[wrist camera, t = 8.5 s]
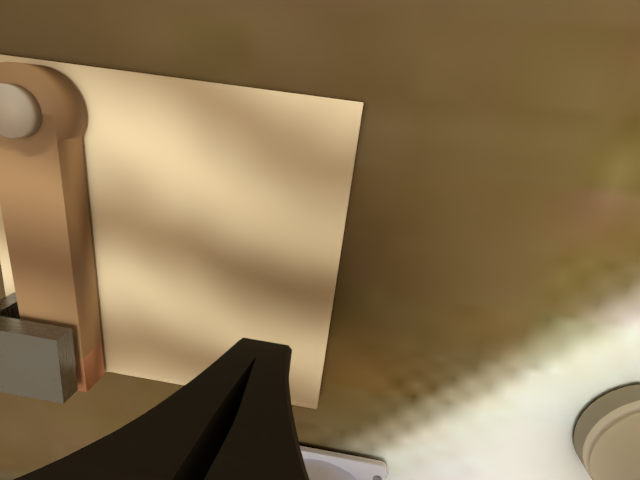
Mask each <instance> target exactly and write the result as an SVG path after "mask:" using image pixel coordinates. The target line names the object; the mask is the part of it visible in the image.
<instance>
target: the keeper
mask: <svg viewBox="0 0 640 480" xmlns="http://www.w3.org/2000/svg"><path fill="white" fill-rule="evenodd" d="M77 390H78V385H77V374H76V364H75V354H74V344H73V334H72V328H66V327H60V326H55V325H49V324H43V323H37V322H32V321H26V320H20V315H19V310H18V304H17V298H16V292H14V293H12V294H10V295H8V296H6V297H4V298H3V299H1V300H0V392H4V393H9V394H15V395H20V396H25V397H31V398H36V399H42V400H47V401H52V402H58V403H63V404H64V403H65V402H66V401H67V400H68V399H69V398H70V397H71V396H72V395H73V394H74V393H75V392H76V391H77Z"/></svg>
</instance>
